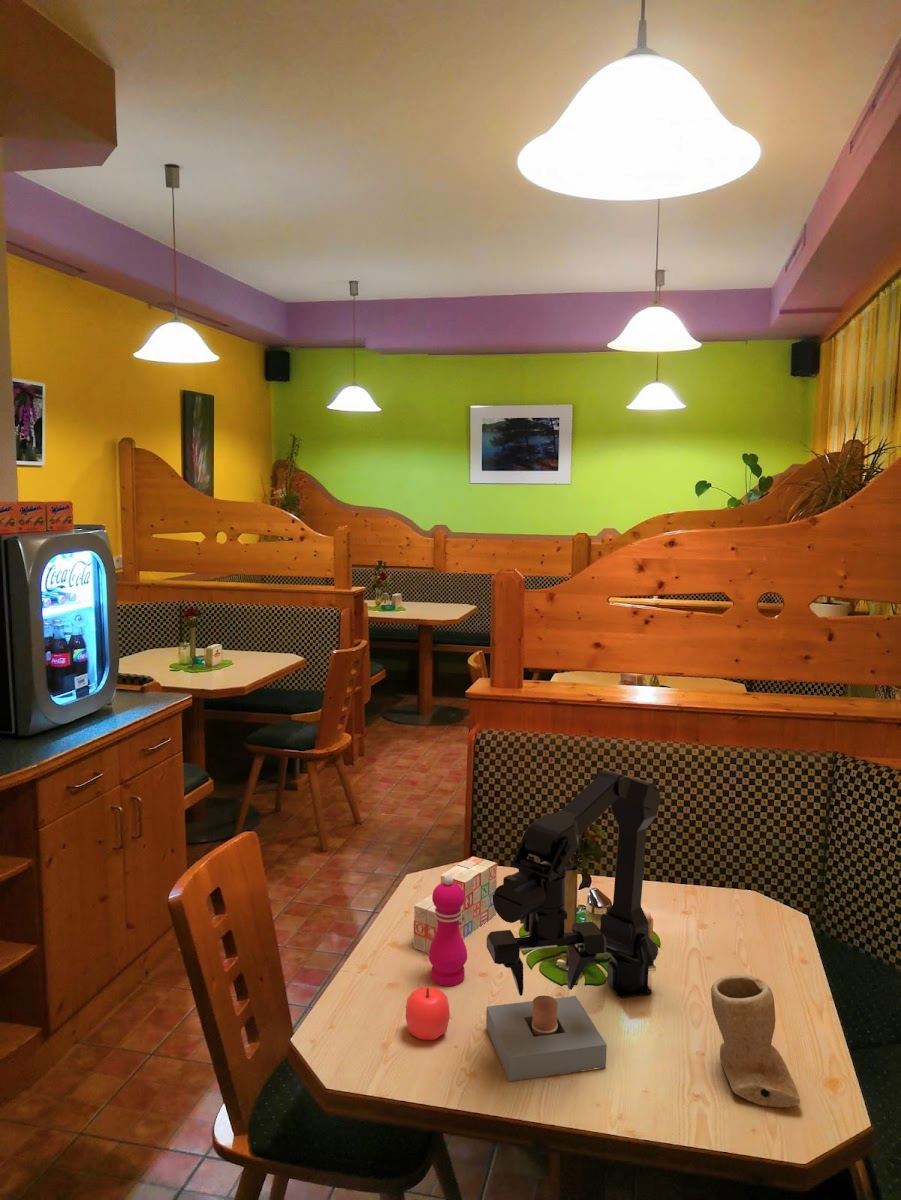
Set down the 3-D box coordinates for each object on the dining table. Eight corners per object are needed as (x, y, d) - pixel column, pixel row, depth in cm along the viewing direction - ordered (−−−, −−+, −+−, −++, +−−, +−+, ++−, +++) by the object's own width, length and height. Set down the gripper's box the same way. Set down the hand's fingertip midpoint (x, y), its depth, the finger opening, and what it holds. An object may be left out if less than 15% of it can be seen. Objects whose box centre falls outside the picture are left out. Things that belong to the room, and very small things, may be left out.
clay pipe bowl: (702, 1046, 149) (706, 960, 147) (776, 1051, 148) (781, 965, 146) (718, 1108, 134) (723, 1014, 132) (801, 1115, 133) (807, 1020, 131)
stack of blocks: (438, 958, 176) (438, 899, 174) (412, 949, 180) (413, 890, 178) (496, 916, 193) (497, 861, 192) (472, 908, 197) (472, 854, 195)
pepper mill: (463, 990, 165) (464, 886, 162) (424, 985, 166) (425, 882, 164) (470, 969, 172) (471, 869, 169) (433, 965, 173) (433, 866, 171)
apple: (441, 1051, 147) (441, 1005, 146) (396, 1040, 150) (396, 996, 149) (457, 1024, 155) (458, 980, 153) (414, 1014, 157) (414, 971, 156)
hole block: (575, 1017, 157) (575, 995, 156) (605, 1067, 143) (606, 1044, 143) (486, 1028, 153) (486, 1006, 153) (509, 1081, 140) (509, 1057, 139)
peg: (552, 1038, 151) (553, 993, 150) (560, 1054, 147) (561, 1008, 146) (528, 1041, 150) (529, 996, 149) (535, 1057, 146) (536, 1011, 145)
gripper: (584, 874, 155) (581, 960, 157) (478, 883, 151) (477, 971, 153) (609, 903, 144) (606, 995, 146) (496, 914, 140) (494, 1008, 142)
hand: (545, 991), depth 147 cm, fingers open, 8 cm apart
